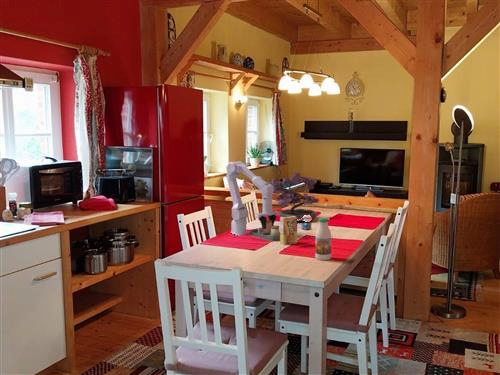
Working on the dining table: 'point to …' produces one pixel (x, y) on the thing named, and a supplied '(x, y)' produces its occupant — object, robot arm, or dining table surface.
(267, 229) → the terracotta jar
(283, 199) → the bonsai tree
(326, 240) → the milk bottle
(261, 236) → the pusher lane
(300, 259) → the dining table surface
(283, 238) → the candy box
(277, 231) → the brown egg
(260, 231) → the plate
